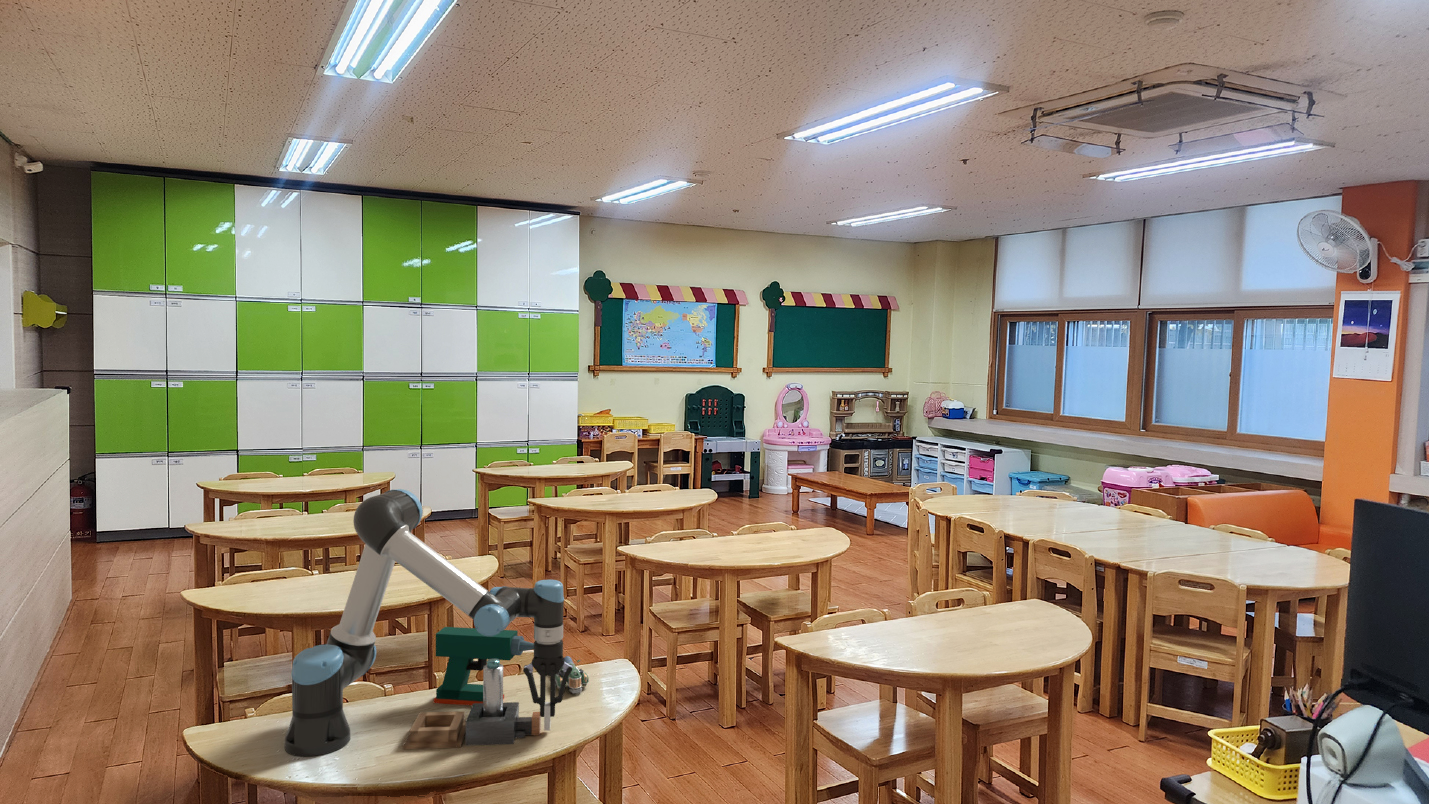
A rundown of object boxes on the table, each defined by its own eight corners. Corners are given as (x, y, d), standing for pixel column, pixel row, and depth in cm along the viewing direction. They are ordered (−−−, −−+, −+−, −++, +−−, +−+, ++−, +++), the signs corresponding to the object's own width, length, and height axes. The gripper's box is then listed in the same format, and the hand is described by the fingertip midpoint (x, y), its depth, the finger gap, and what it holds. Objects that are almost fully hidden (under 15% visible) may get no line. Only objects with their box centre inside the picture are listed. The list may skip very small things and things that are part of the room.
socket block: (465, 745, 221) (465, 722, 220) (472, 725, 233) (473, 703, 232) (523, 743, 222) (523, 720, 222) (527, 723, 234) (527, 701, 234)
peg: (481, 739, 225) (482, 664, 224) (484, 730, 230) (484, 657, 228) (501, 738, 225) (502, 664, 224) (503, 730, 230) (504, 657, 229)
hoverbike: (561, 698, 252) (561, 670, 252) (540, 669, 275) (540, 644, 274) (593, 693, 256) (593, 666, 256) (569, 665, 279) (570, 640, 279)
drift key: (509, 736, 226) (509, 718, 226) (510, 730, 230) (511, 712, 229) (539, 735, 227) (539, 717, 227) (540, 729, 231) (540, 711, 230)
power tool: (550, 700, 251) (551, 631, 250) (543, 709, 244) (544, 639, 243) (443, 693, 254) (444, 626, 253) (433, 703, 247) (433, 633, 246)
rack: (403, 749, 218) (403, 733, 218) (415, 725, 232) (415, 710, 232) (460, 747, 220) (460, 731, 219) (469, 723, 233) (469, 709, 233)
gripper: (521, 645, 223) (520, 735, 225) (573, 644, 225) (571, 733, 226) (524, 635, 231) (523, 723, 232) (574, 635, 232) (572, 721, 234)
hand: (547, 728), depth 229 cm, fingers closed
